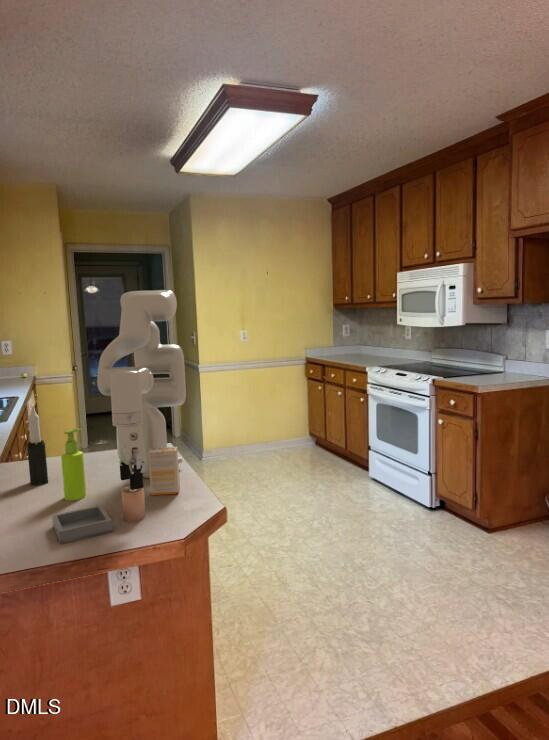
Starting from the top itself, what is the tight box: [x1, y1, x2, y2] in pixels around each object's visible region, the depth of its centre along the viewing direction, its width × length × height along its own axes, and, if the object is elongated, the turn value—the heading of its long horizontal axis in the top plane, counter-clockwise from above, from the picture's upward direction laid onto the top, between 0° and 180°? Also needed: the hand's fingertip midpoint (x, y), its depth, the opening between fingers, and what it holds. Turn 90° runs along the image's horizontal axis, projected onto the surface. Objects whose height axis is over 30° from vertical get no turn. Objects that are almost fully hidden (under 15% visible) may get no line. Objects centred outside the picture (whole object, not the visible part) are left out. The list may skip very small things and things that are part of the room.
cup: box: [120, 486, 147, 523], centre depth 135 cm, size 6×6×8 cm
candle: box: [26, 405, 49, 486], centre depth 166 cm, size 5×5×25 cm
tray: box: [51, 504, 113, 545], centre depth 129 cm, size 12×12×3 cm
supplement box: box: [148, 446, 181, 496], centre depth 153 cm, size 8×5×13 cm, turn 94°
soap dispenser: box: [60, 428, 87, 502], centre depth 152 cm, size 6×7×20 cm
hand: (131, 483), depth 134 cm, fingers open, 9 cm apart
